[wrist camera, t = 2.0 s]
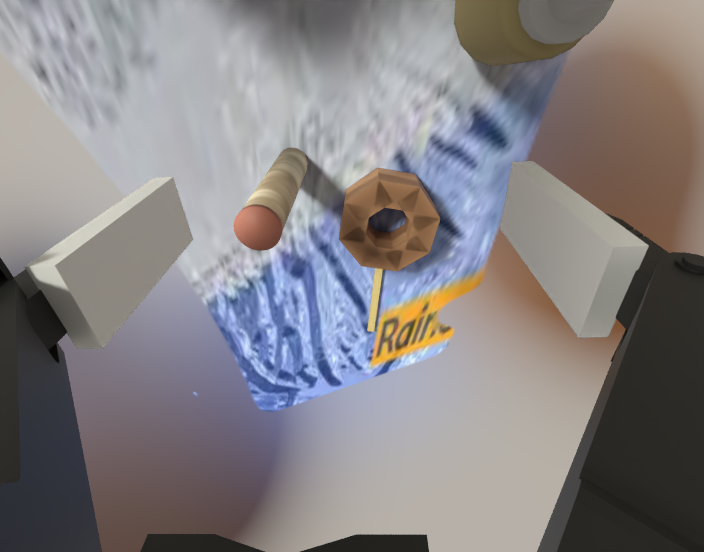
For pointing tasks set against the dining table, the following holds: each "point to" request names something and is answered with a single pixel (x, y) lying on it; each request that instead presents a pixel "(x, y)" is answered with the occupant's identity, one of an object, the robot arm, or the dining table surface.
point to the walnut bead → (401, 243)
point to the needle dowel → (272, 202)
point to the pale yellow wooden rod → (375, 298)
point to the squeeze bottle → (524, 27)
